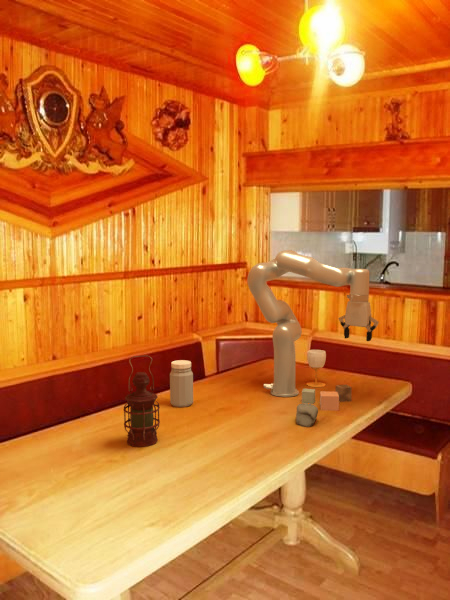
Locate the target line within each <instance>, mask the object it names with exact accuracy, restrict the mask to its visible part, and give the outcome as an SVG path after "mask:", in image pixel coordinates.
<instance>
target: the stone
mask: <svg viewBox="0 0 450 600" xmlns="http://www.w3.org/2000/svg"><path fill="white" fill-rule="evenodd" d="M318 413H319V408H318V407H317V406H316V405H314V404H308V403H299V404H298V405H297V407H296V414H295V415H296V417H295V421H296V422H295V423H296V424H297V425H298V426H300V427H302V428H310V427H312V426H314V424H315V421H316V419H317V418H318V415H319V414H318Z"/></svg>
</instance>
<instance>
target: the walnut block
mask: <svg viewBox="0 0 450 600" xmlns="http://www.w3.org/2000/svg"><path fill="white" fill-rule="evenodd" d="M335 392H338V395H339V403H344V402H345V403H346V401H347V402H352V386H350V385H348V384H336V385H335Z"/></svg>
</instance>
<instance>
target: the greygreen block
mask: <svg viewBox="0 0 450 600" xmlns="http://www.w3.org/2000/svg"><path fill="white" fill-rule="evenodd" d="M315 402H316V389H315V388H302V391H301V404H303V403H307V404H308V403H309V404H312V405H314V403H315Z"/></svg>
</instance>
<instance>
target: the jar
mask: <svg viewBox="0 0 450 600" xmlns="http://www.w3.org/2000/svg"><path fill="white" fill-rule="evenodd" d="M170 366H171V371H170V372H169V387H170V388H169V402H170V404H171V405H172V406H173V407H175V408H186V407H190V406H192V404H193V403H194V373H193V371H192V362H191V360H185V359H179V360H174V361H171V365H170Z"/></svg>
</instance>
